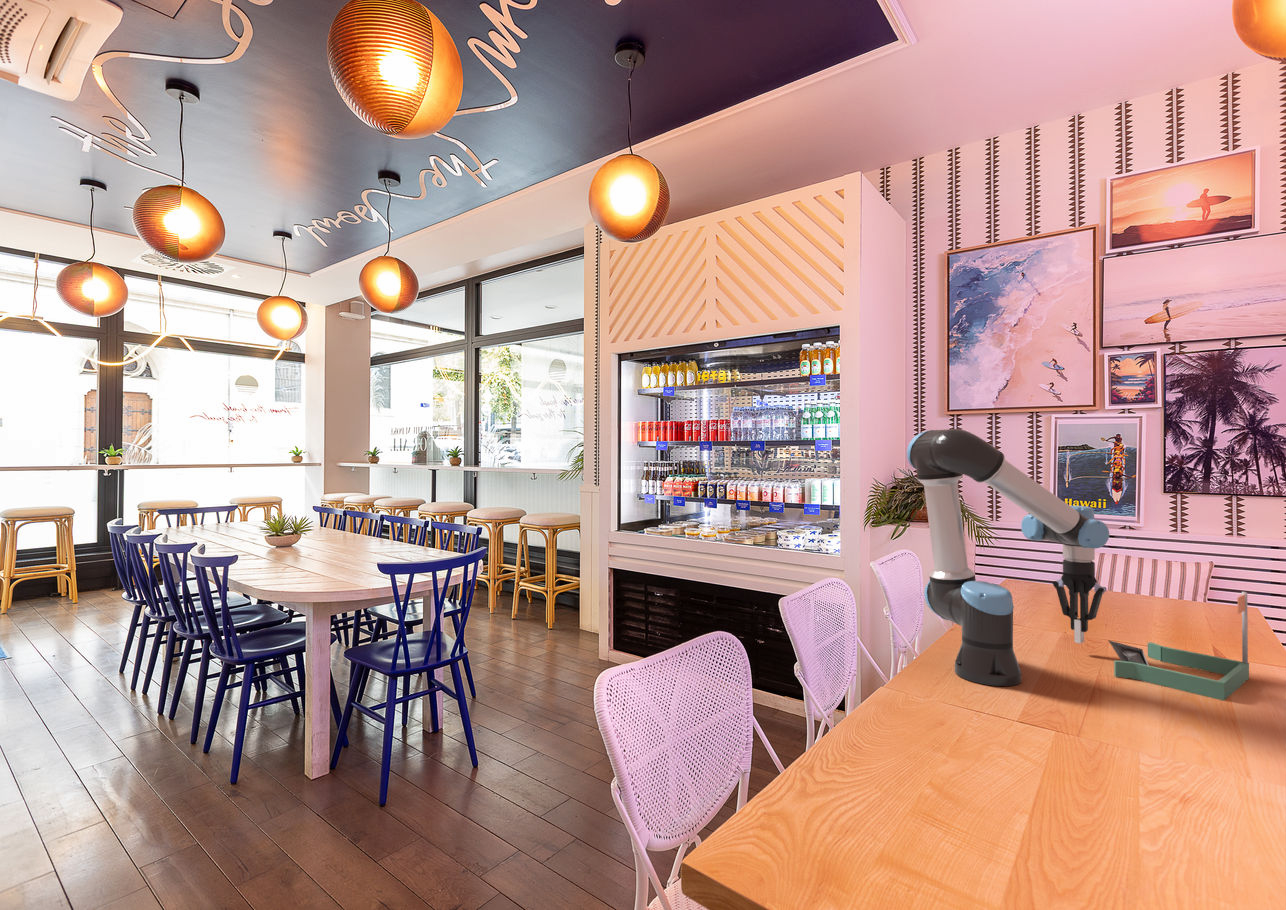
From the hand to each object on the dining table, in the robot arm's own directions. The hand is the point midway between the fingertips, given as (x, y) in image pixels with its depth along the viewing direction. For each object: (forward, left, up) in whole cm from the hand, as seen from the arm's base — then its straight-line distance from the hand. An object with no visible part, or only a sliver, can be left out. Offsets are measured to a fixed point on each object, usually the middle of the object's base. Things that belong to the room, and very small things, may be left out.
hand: (1079, 642), depth 178 cm
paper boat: (+12, -2, -4) cm, 13 cm away
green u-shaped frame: (+23, 0, -3) cm, 23 cm away
